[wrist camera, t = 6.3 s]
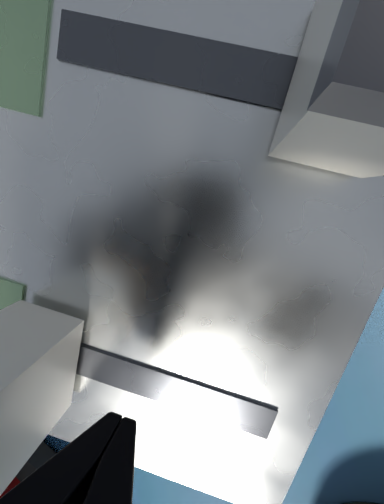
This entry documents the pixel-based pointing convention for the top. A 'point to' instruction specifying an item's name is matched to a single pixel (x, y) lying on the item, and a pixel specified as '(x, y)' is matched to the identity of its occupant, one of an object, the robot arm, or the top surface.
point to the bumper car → (32, 464)
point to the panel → (182, 230)
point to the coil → (360, 503)
